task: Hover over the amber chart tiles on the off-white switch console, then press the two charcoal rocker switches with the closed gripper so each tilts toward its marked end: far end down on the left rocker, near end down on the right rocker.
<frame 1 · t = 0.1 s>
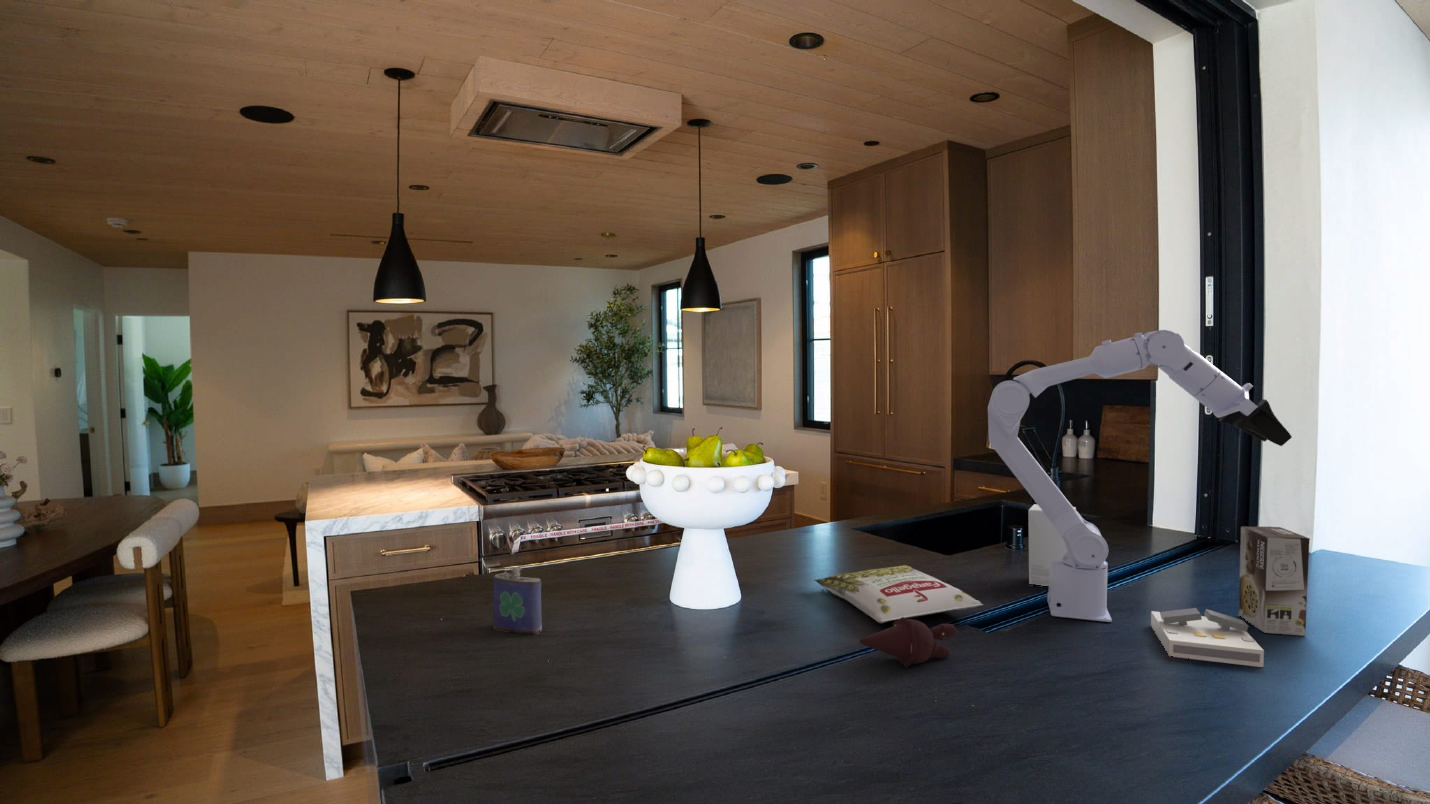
hand: (1277, 439, 122), 32 cm above the countertop, tool tilted 50°, fingers open, 7 cm apart
coffee box: (1270, 626, 127), on the countertop
rocker right: (1225, 622, 118), point 4 cm above the countertop, hinge at 14.0°
console: (1203, 645, 118), on the countertop
frozen beans: (894, 608, 138), on the countertop
flask: (516, 631, 126), on the countertop
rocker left: (1180, 617, 120), point 4 cm above the countertop, hinge at -14.0°
skincare box: (1051, 585, 151), on the countertop
icecream: (907, 664, 112), on the countertop
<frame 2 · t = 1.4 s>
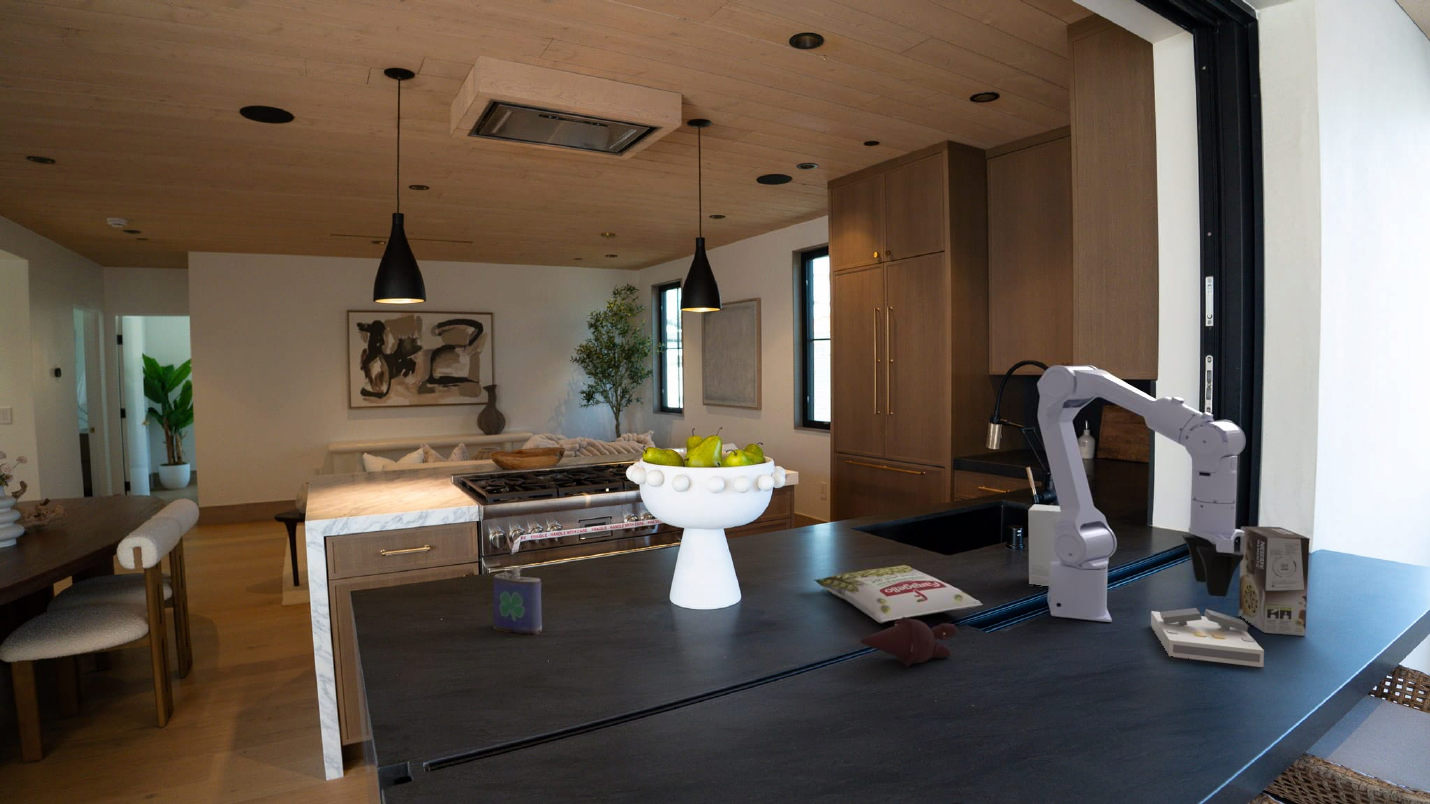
hand: (1210, 588, 115), 10 cm above the countertop, tool pointing down, fingers open, 7 cm apart
nothing on the countertop moved.
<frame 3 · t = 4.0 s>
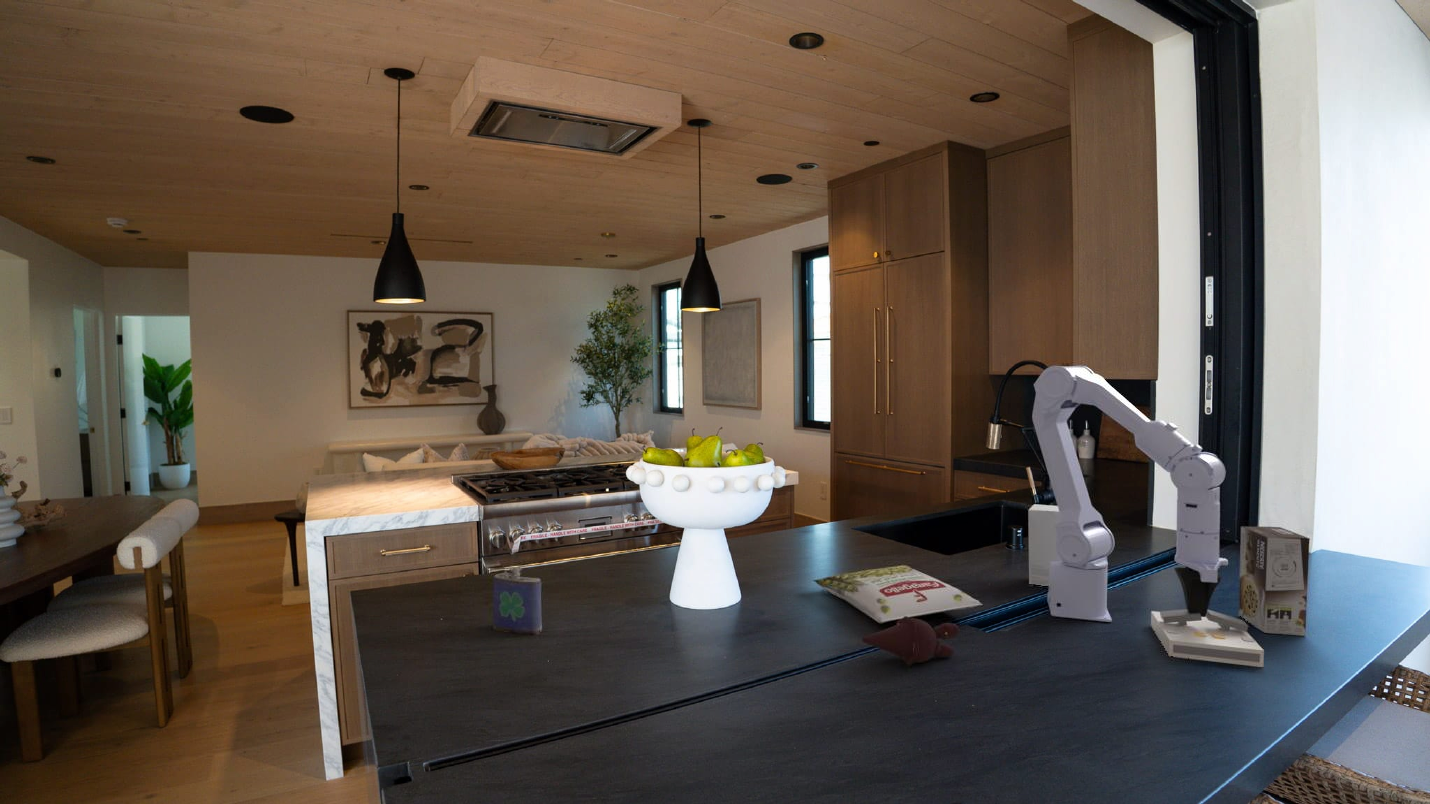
hand: (1196, 615, 119), 4 cm above the countertop, tool pointing down, fingers closed, pressing on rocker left
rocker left: (1180, 618, 120), point 4 cm above the countertop, hinge at -11.4°, touching gripper
everything else where it was.
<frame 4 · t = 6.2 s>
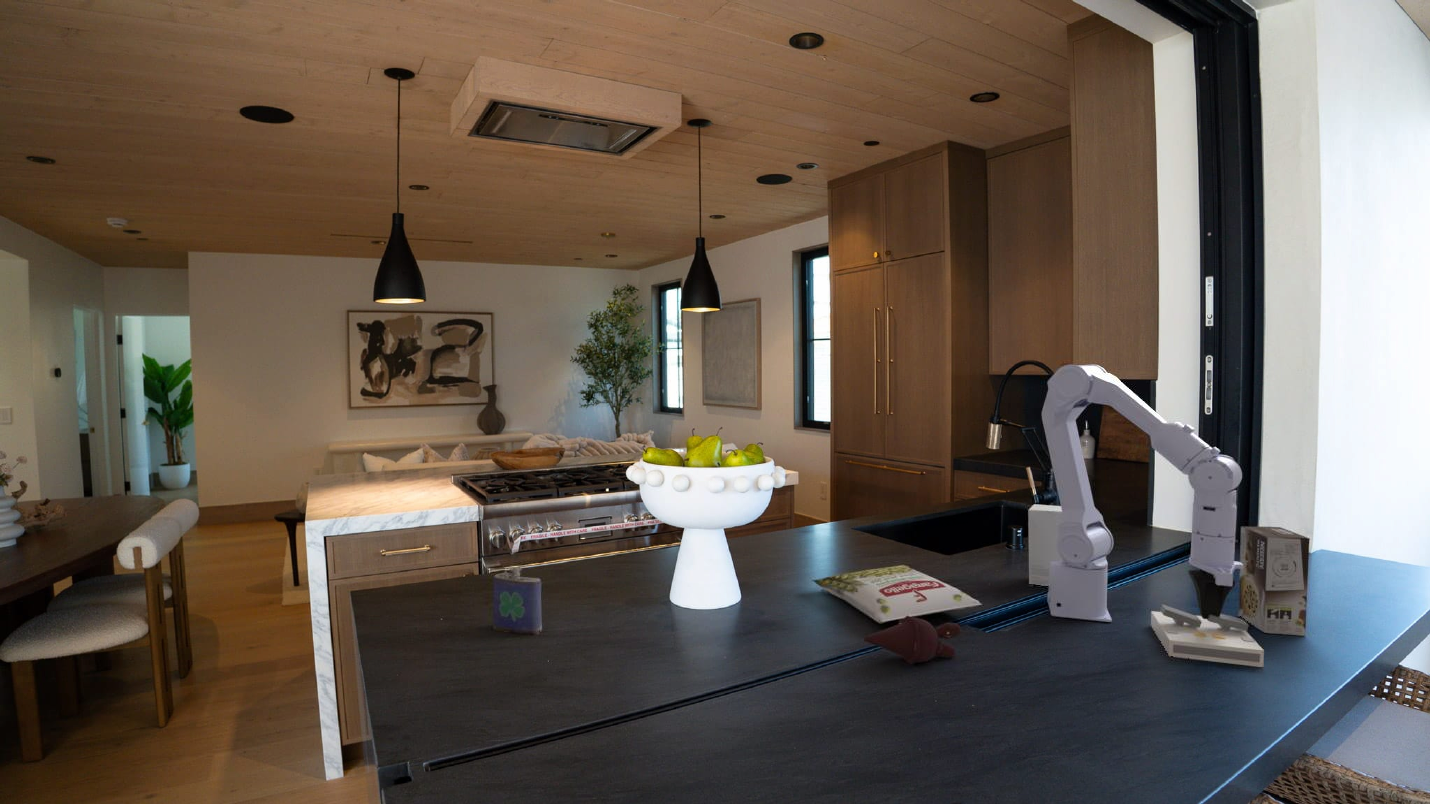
hand: (1209, 618, 119), 4 cm above the countertop, tool pointing down, fingers closed, pressing on rocker right
rocker right: (1225, 622, 118), point 4 cm above the countertop, hinge at 10.6°, touching gripper
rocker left: (1179, 617, 120), point 4 cm above the countertop, hinge at 16.2°
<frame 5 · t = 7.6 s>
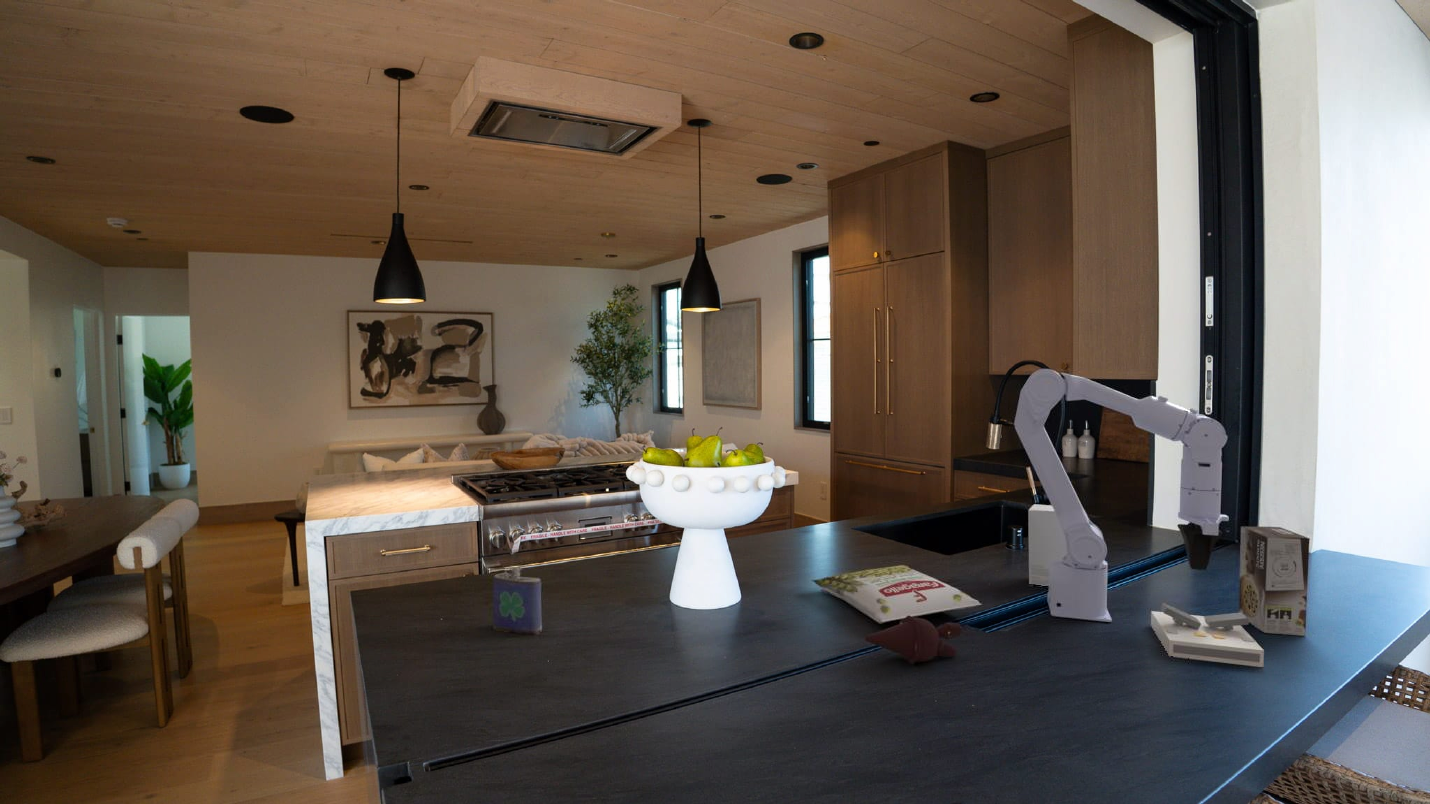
hand: (1197, 568, 126), 10 cm above the countertop, tool pointing down, fingers closed
rocker right: (1226, 622, 118), point 4 cm above the countertop, hinge at -13.6°
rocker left: (1179, 617, 120), point 4 cm above the countertop, hinge at 23.1°
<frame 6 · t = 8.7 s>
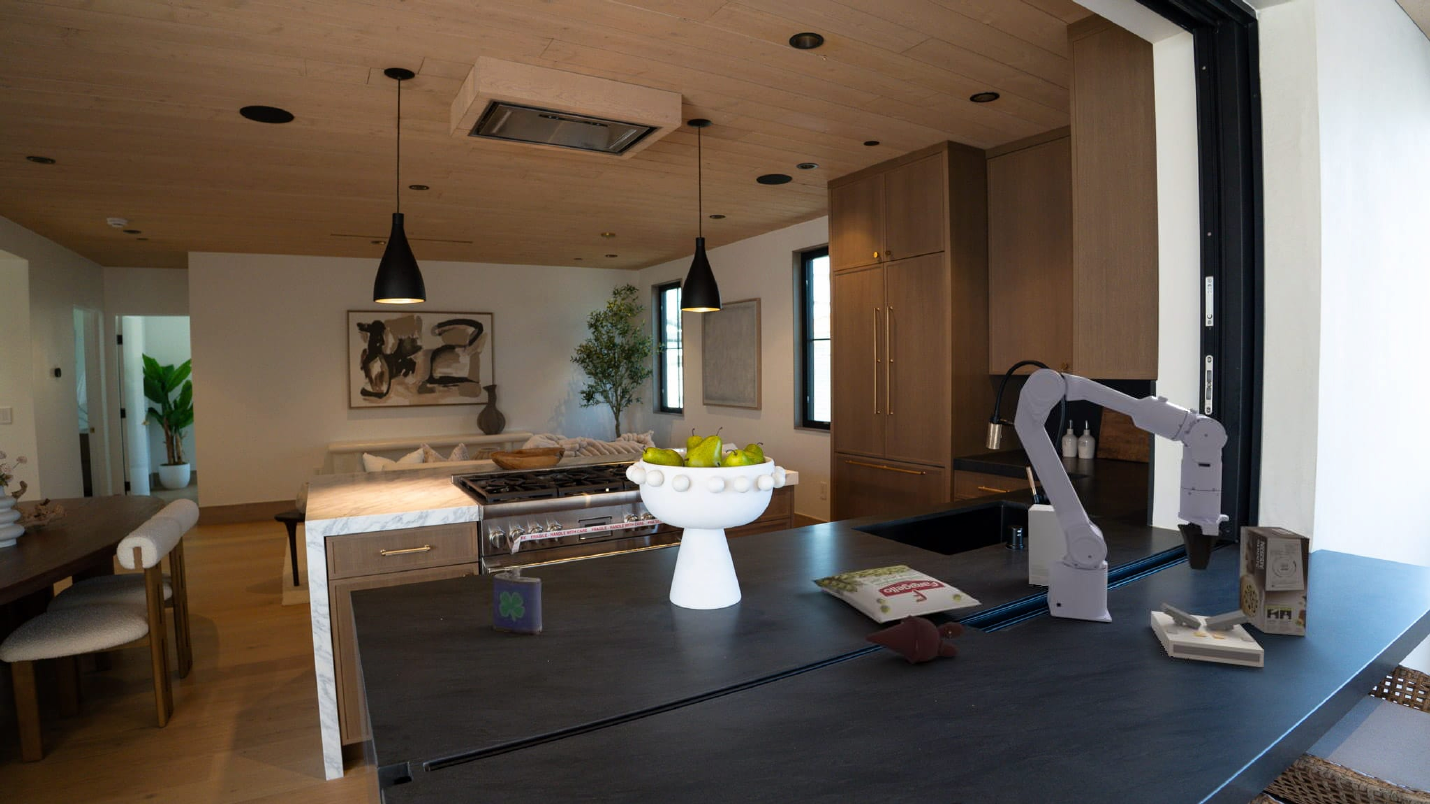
hand: (1197, 568, 126), 10 cm above the countertop, tool pointing down, fingers closed
rocker right: (1226, 622, 118), point 4 cm above the countertop, hinge at -21.9°
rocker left: (1179, 617, 120), point 4 cm above the countertop, hinge at 23.6°
at the end: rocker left at +23° (first picture: -14°); rocker right at -23° (first picture: +14°) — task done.
